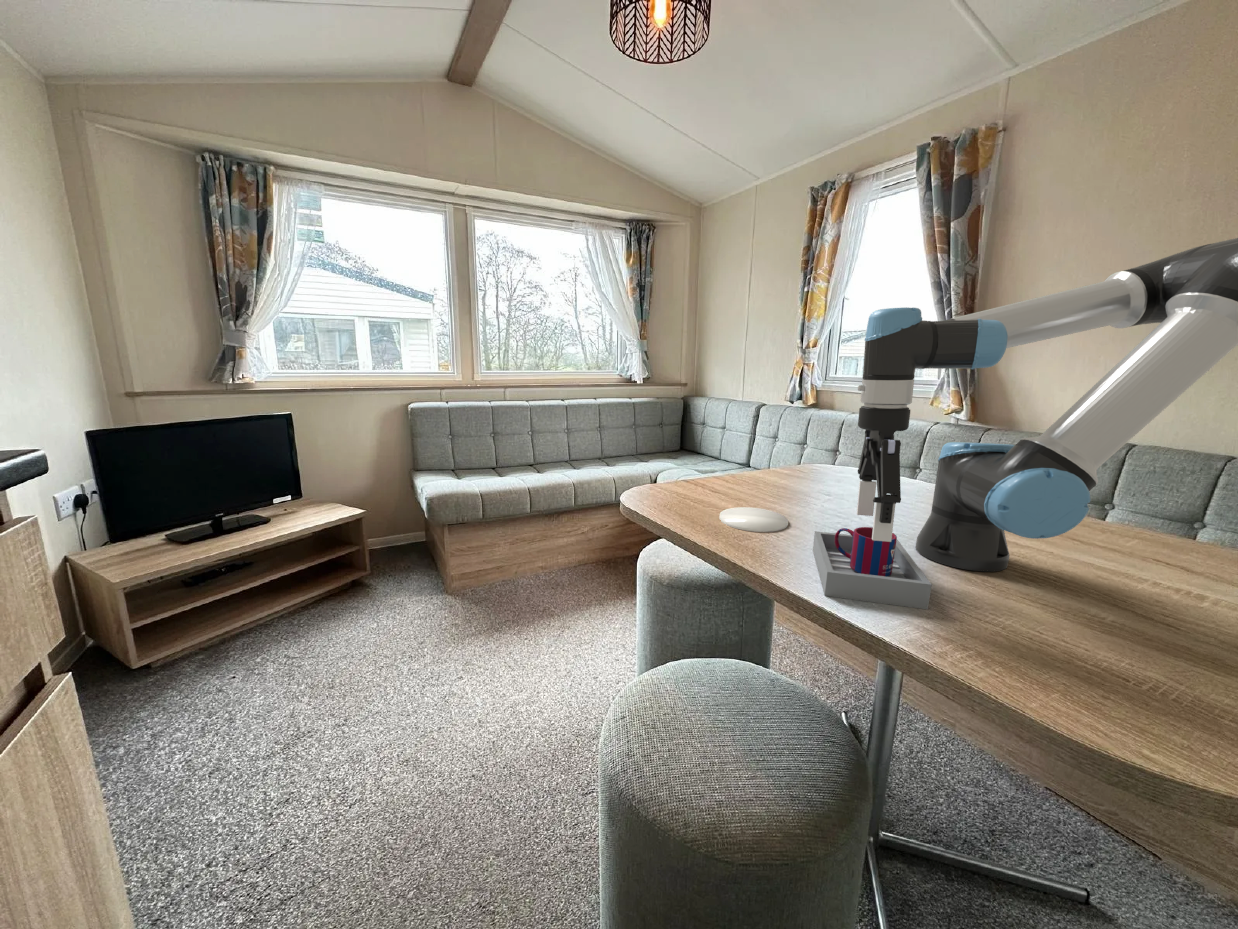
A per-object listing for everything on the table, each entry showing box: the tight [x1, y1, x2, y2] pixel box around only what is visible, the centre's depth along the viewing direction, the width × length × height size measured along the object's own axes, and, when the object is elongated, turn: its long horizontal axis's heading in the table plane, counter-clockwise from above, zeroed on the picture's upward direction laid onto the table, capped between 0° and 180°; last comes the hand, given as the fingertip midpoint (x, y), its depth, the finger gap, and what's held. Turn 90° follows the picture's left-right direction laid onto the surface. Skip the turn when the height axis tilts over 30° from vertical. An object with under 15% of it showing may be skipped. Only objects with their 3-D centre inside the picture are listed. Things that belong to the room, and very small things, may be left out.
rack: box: [812, 530, 933, 610], centre depth 86 cm, size 15×20×4 cm
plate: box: [718, 506, 789, 533], centre depth 117 cm, size 16×16×1 cm
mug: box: [835, 526, 898, 577], centre depth 87 cm, size 7×10×7 cm
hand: (872, 526), depth 85 cm, fingers open, 13 cm apart
